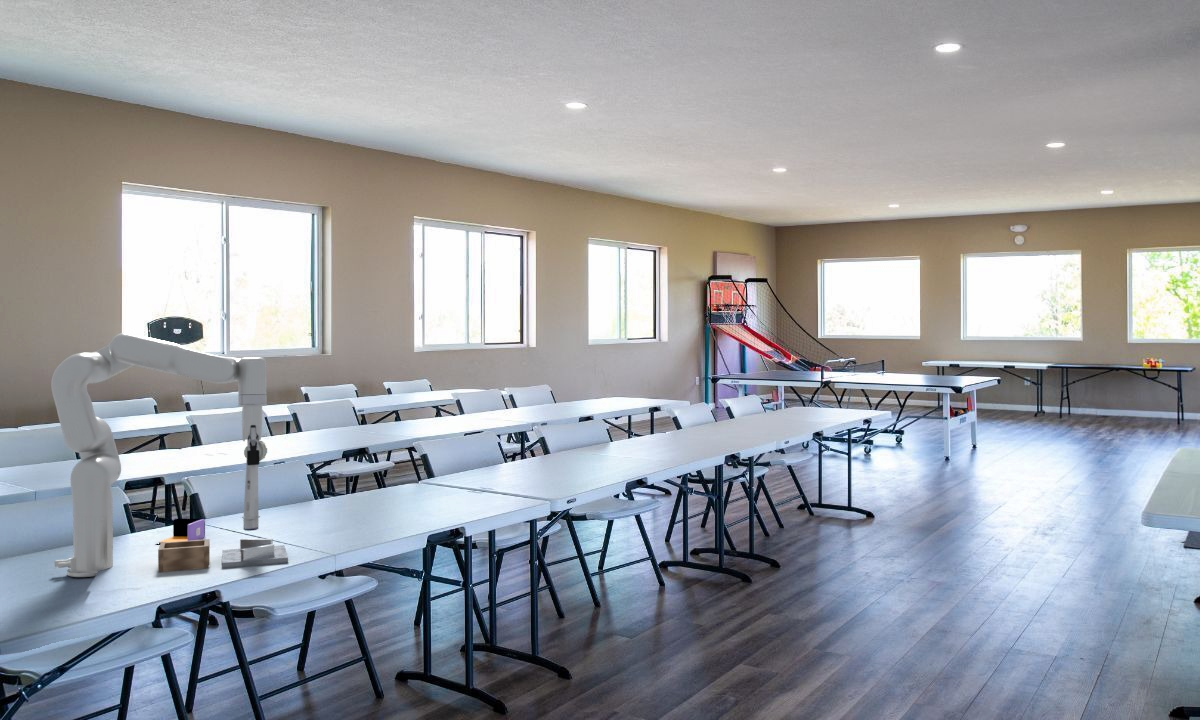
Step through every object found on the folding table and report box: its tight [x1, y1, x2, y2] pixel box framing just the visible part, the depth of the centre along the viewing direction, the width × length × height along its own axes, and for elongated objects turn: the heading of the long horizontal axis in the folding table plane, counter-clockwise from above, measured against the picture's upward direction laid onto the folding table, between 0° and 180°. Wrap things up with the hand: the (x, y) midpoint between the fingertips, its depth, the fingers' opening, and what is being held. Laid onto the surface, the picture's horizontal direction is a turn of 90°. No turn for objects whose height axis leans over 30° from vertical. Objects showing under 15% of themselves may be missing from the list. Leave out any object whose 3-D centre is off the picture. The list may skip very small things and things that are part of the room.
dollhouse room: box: [154, 518, 206, 546], centre depth 281 cm, size 12×12×7 cm
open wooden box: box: [157, 538, 211, 573], centre depth 248 cm, size 12×10×6 cm
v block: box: [221, 538, 289, 569], centre depth 257 cm, size 17×18×4 cm
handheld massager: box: [241, 440, 268, 532], centre depth 257 cm, size 5×7×25 cm
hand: (252, 462), depth 257 cm, fingers closed on handheld massager, 6 cm apart
